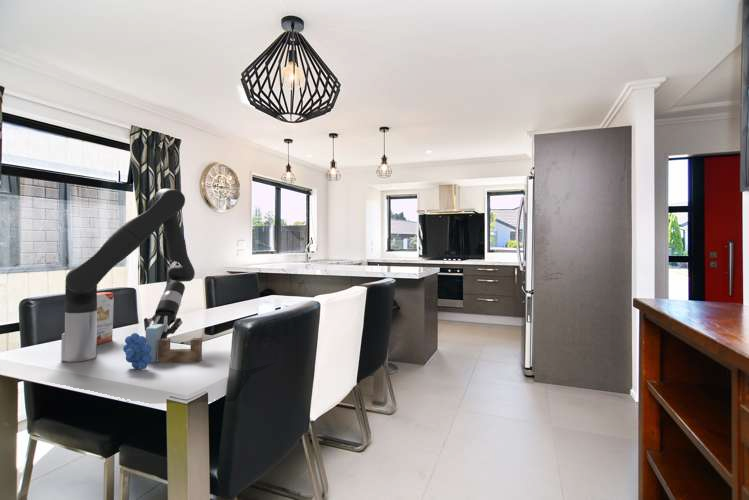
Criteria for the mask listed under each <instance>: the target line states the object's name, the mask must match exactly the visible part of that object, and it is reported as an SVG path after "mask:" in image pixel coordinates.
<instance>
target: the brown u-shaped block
mask: <svg viewBox="0 0 749 500" xmlns="http://www.w3.org/2000/svg"><path fill="white" fill-rule="evenodd" d="M201 361H203V338H202V337H193V338H192V339H190V348H171V338H168V337H167V338H161V339H160V340H158V361H157V363H158V364H163V363H165V364H167V363H169V364H171V363H173V364H174V363H175V364H176V363H177V364H179V363H180V364H181V363H200V362H201Z"/></svg>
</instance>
